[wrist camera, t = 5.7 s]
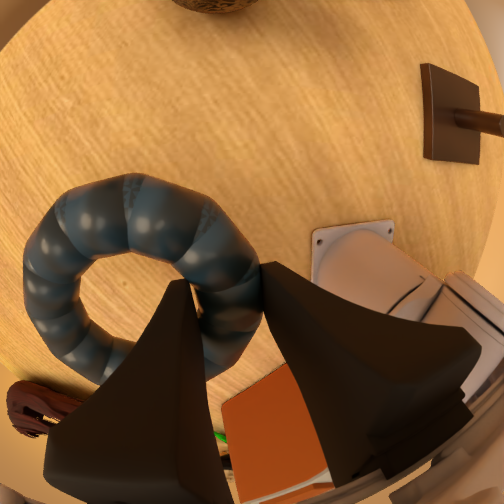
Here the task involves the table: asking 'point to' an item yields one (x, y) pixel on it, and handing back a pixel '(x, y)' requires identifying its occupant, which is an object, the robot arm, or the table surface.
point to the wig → (37, 407)
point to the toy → (228, 472)
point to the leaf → (220, 436)
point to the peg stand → (454, 117)
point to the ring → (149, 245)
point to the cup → (214, 5)
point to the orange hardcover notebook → (274, 443)
